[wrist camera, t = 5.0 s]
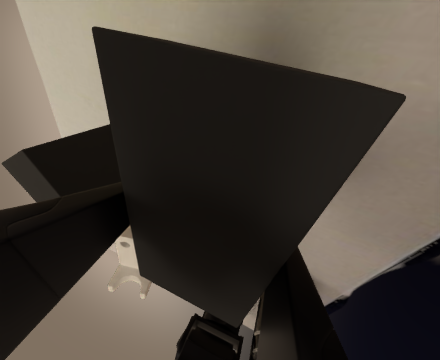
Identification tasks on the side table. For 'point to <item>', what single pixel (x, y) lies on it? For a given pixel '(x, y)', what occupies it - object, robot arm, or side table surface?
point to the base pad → (227, 160)
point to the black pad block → (67, 165)
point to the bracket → (128, 265)
